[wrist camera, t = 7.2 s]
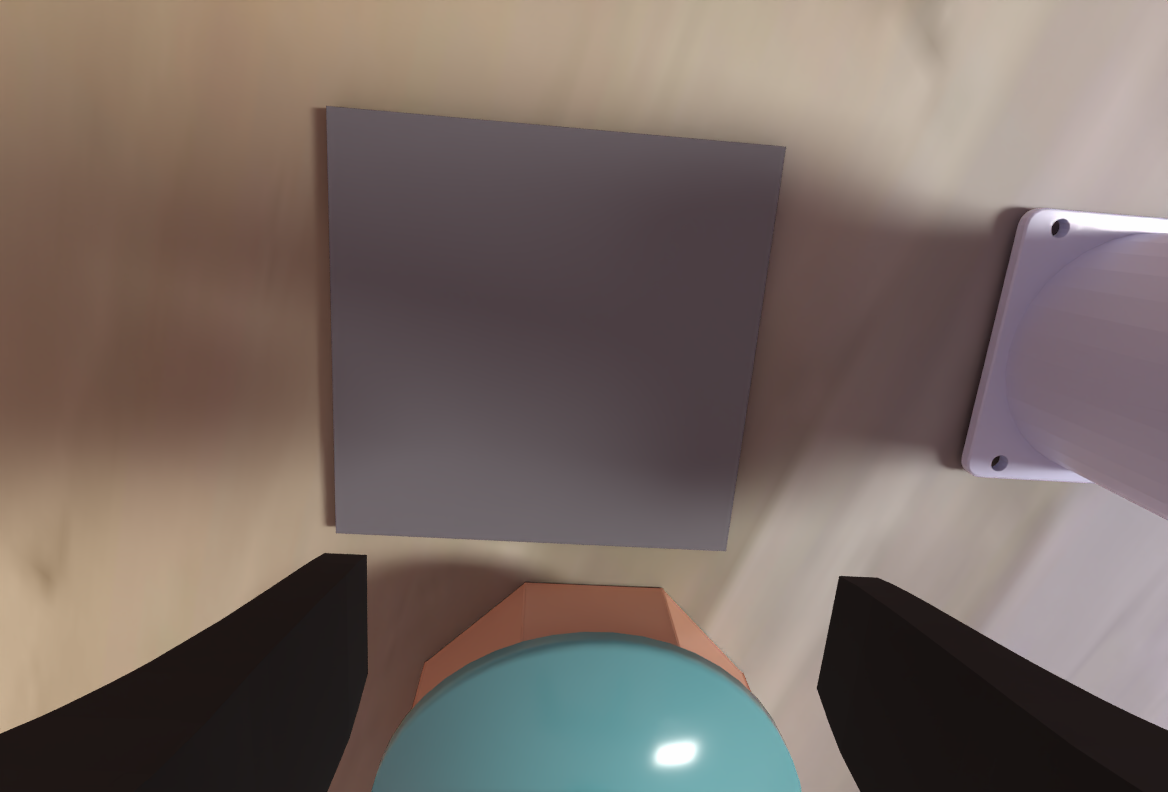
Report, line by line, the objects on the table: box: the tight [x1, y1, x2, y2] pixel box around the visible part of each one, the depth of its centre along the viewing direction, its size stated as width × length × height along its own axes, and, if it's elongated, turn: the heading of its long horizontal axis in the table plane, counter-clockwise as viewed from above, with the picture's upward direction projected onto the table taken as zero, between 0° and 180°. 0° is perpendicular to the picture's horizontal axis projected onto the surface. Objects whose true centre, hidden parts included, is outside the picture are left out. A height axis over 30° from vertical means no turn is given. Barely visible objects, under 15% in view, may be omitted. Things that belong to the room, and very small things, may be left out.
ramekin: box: [412, 582, 751, 709], centre depth 21 cm, size 11×11×4 cm
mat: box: [326, 106, 786, 551], centre depth 19 cm, size 12×12×1 cm
